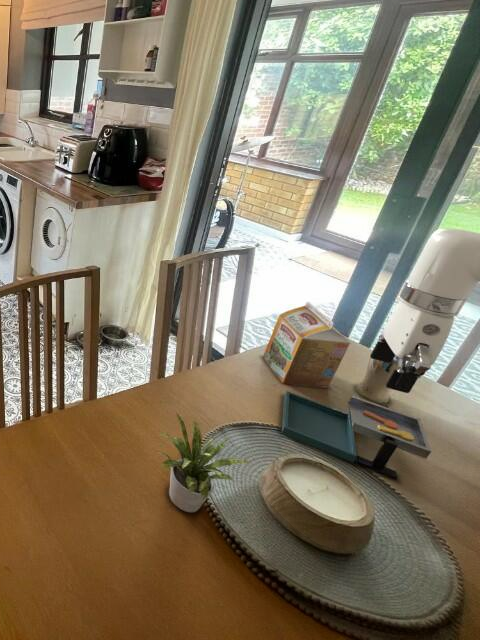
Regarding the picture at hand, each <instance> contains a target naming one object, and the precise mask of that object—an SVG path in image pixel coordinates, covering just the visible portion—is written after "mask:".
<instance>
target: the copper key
mask: <svg viewBox="0 0 480 640" xmlns="http://www.w3.org/2000/svg"><path fill="white" fill-rule="evenodd" d="M363 414H365V415H368V416H370V417H372V418H374V419H376V420H378V421H380V422H382V423H384V424H385V425H386V426H388V427H390V428H392V429H398V427H399V426H398V425H397V424H396V423H395V422H393V421H391V420H386V419H384V418H381V417H379V416H377V415H375V414H373V413H371V412H369V411H366V410H365V411H364V413H363Z"/></svg>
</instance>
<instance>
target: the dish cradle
mask: <svg viewBox="0 0 480 640" xmlns="http://www.w3.org/2000/svg"><path fill="white" fill-rule="evenodd" d="M377 404H378V405H381V406H384V407H386V408H389V405H387V404H386V403H379V402H377ZM389 409H390V408H389ZM382 443H383V442H382ZM397 447H398V444H397V442H394V441H391V440H389V439H386V440H385V442H384V443H383V444H382V445H381V447H380V448H379V450H378V451H377V453H376V455H375V456H374V458H373V460H370V459H367V458H365V457H362V456H360V455H357V457H356V459H355V463H356V465H358V466H361V467H362V468H365V469H368V470H371V471H372V472H375V473H377V474H380V475H382V476H385V477H387V478H389V479H392V480H395V481H397V480H398V478H399V476H398V472H397V470H395V469H392V468H390V467H387V466H386V465H387V464H388V462H389V460H390V459H391V457H392V456H393V454H394V453H395V451H396V450H397V449H398V448H397Z"/></svg>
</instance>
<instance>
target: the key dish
mask: <svg viewBox="0 0 480 640" xmlns="http://www.w3.org/2000/svg"><path fill="white" fill-rule="evenodd" d="M347 404H348V405H347V406H348V413H349V414H350V420H351V428H352V431H354V433H357V434H360V435H362V436H365V437H368V438H371V439H373V440H377V441H378V442H381V443H384V442H385V440H386V439H389V440H391V441H394V442H397V444H398V447H397V448H396V449H399V450H401V451H405V452H407V453H410V454H413V455H415V456H418V457H419V458H423V459H425V460H427V459H428V457H429V456H430V454H431V453H432V449H431V446H430V443H429V440H428V436H427V434H426V431H425V428H424V425H423V422H422V419H421V418H418V417H415V416H412V415H409V414H406V413H403V412H401V411H398V410H395V409H392V408H386V407H384V406H381V405H378V403H376V402H373V401H370V400H366V399H363V398H360V397H357V396H355V395H351V396H350V398H349V400H348V402H347ZM365 410H366V411H369V412H371V413H373V414H375V415H377V416H379V417H381V418H384V419H386V420H391V421H393V422H395V423H396V424H397V425H398V426H399V427H398V429H394V430H397V431H401V430H402V431H406V432H408V433H410V434H411V435H413V437H414V439H413V440H412V441H410V440H406V439H404V438H402V437H401V436H398V435H395V434H391V433H388V432H384V431H381V430H379V429H378V427H377V426H378V425H380V426H383V427H387V428H390V427H388V426H386V425H385V424H384V423H382V422H380V421H378V420H376V419H374V418H372V417H370V416H368V415H365V414H363V413H364V411H365ZM390 429H392V428H390Z"/></svg>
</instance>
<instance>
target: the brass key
mask: <svg viewBox="0 0 480 640" xmlns="http://www.w3.org/2000/svg"><path fill="white" fill-rule="evenodd" d="M377 427H378V429H379V430H381V431H384V432H388V433H391V434H395V435H398V436H401V437H402V438H404V439H406V440H410V441H412V440H413V439H414V437H413V435H411V434H410V433H408V432H406V431H402V430H401V431H397V430H394V429H390V428H387V427H383V426H380V425H378V426H377Z"/></svg>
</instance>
